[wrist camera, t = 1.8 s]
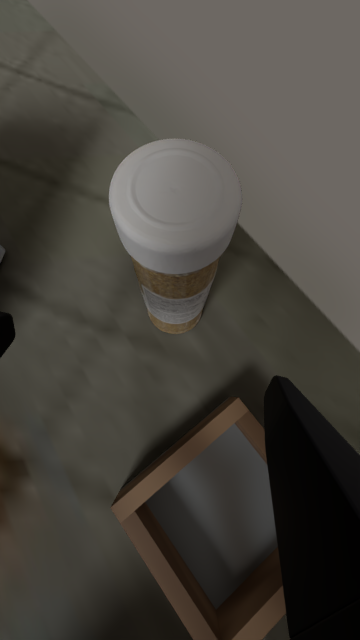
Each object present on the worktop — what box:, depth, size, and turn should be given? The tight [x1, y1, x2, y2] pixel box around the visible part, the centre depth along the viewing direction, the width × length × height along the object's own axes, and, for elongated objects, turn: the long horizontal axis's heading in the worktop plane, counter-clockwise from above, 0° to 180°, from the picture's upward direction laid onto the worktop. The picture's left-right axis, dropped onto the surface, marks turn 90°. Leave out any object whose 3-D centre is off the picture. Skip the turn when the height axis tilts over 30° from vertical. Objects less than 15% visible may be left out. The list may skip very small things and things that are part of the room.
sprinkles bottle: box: [109, 139, 242, 334], centre depth 15 cm, size 5×5×13 cm
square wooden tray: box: [111, 396, 286, 640], centre depth 17 cm, size 10×10×3 cm
